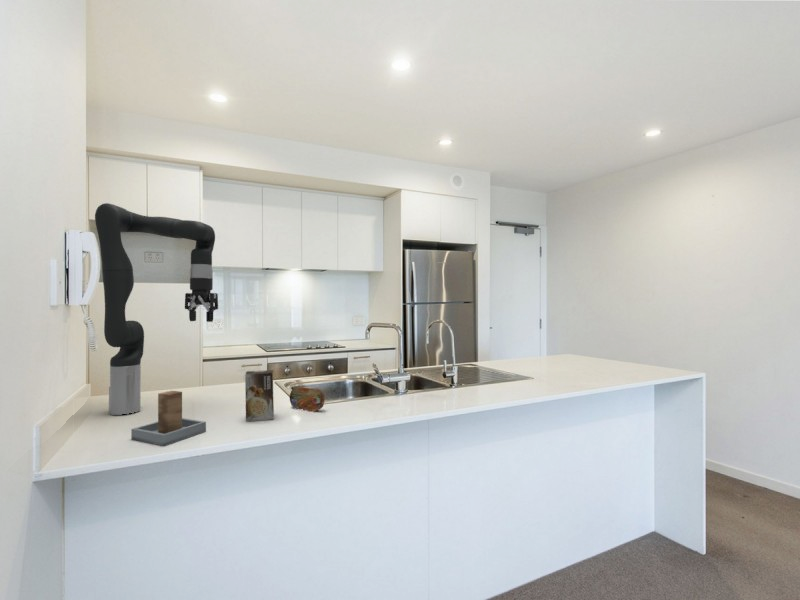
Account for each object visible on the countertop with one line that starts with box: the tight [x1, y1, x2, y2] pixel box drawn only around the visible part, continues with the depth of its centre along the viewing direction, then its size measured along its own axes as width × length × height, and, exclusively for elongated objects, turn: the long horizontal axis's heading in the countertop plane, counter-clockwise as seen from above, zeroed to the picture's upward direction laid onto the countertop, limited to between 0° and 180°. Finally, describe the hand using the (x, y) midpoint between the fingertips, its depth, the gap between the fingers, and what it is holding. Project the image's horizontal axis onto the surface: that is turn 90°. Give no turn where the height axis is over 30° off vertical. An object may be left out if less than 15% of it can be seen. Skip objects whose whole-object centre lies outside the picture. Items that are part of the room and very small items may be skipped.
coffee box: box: [244, 369, 275, 422], centre depth 142 cm, size 9×6×16 cm
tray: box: [130, 417, 207, 447], centre depth 124 cm, size 14×14×3 cm
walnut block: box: [157, 390, 183, 434], centre depth 124 cm, size 4×4×12 cm
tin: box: [289, 386, 325, 412], centre depth 153 cm, size 15×3×8 cm, turn 62°
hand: (201, 321), depth 150 cm, fingers open, 8 cm apart
